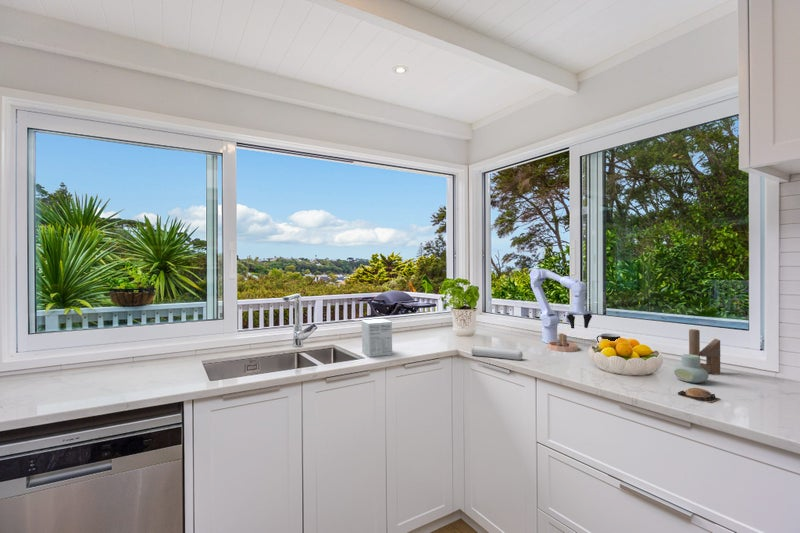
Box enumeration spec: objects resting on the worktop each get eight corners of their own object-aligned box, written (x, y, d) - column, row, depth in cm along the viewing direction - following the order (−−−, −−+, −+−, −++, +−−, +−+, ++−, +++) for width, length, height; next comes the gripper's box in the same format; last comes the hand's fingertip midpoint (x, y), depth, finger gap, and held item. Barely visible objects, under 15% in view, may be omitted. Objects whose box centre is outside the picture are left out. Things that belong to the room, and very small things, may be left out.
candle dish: (543, 346, 221) (543, 340, 221) (569, 345, 222) (569, 340, 222) (555, 352, 206) (555, 346, 206) (583, 351, 207) (583, 345, 207)
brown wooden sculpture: (720, 374, 162) (720, 330, 162) (691, 373, 164) (691, 330, 164) (715, 371, 166) (715, 329, 166) (687, 371, 168) (686, 329, 168)
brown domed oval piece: (722, 401, 134) (722, 390, 134) (710, 405, 130) (710, 394, 130) (687, 392, 143) (687, 382, 143) (674, 396, 139) (674, 385, 139)
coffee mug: (624, 356, 194) (623, 336, 194) (606, 356, 194) (606, 336, 194) (611, 351, 206) (611, 332, 205) (595, 351, 206) (595, 332, 206)
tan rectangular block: (558, 346, 216) (558, 333, 216) (562, 346, 216) (562, 333, 216) (563, 348, 211) (563, 335, 211) (566, 348, 211) (566, 335, 211)
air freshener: (669, 378, 158) (669, 353, 158) (683, 376, 161) (683, 351, 161) (698, 386, 148) (698, 359, 147) (713, 383, 151) (712, 357, 150)
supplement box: (393, 354, 206) (392, 321, 206) (368, 357, 201) (368, 323, 201) (384, 349, 218) (384, 318, 218) (361, 352, 213) (361, 320, 213)
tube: (524, 351, 194) (475, 346, 206) (522, 349, 189) (471, 344, 201) (523, 362, 192) (474, 356, 204) (521, 360, 188) (470, 355, 200)
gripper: (569, 304, 213) (570, 329, 213) (595, 304, 214) (596, 328, 214) (563, 303, 220) (563, 327, 220) (588, 302, 221) (589, 326, 221)
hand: (579, 328), depth 217 cm, fingers open, 7 cm apart
